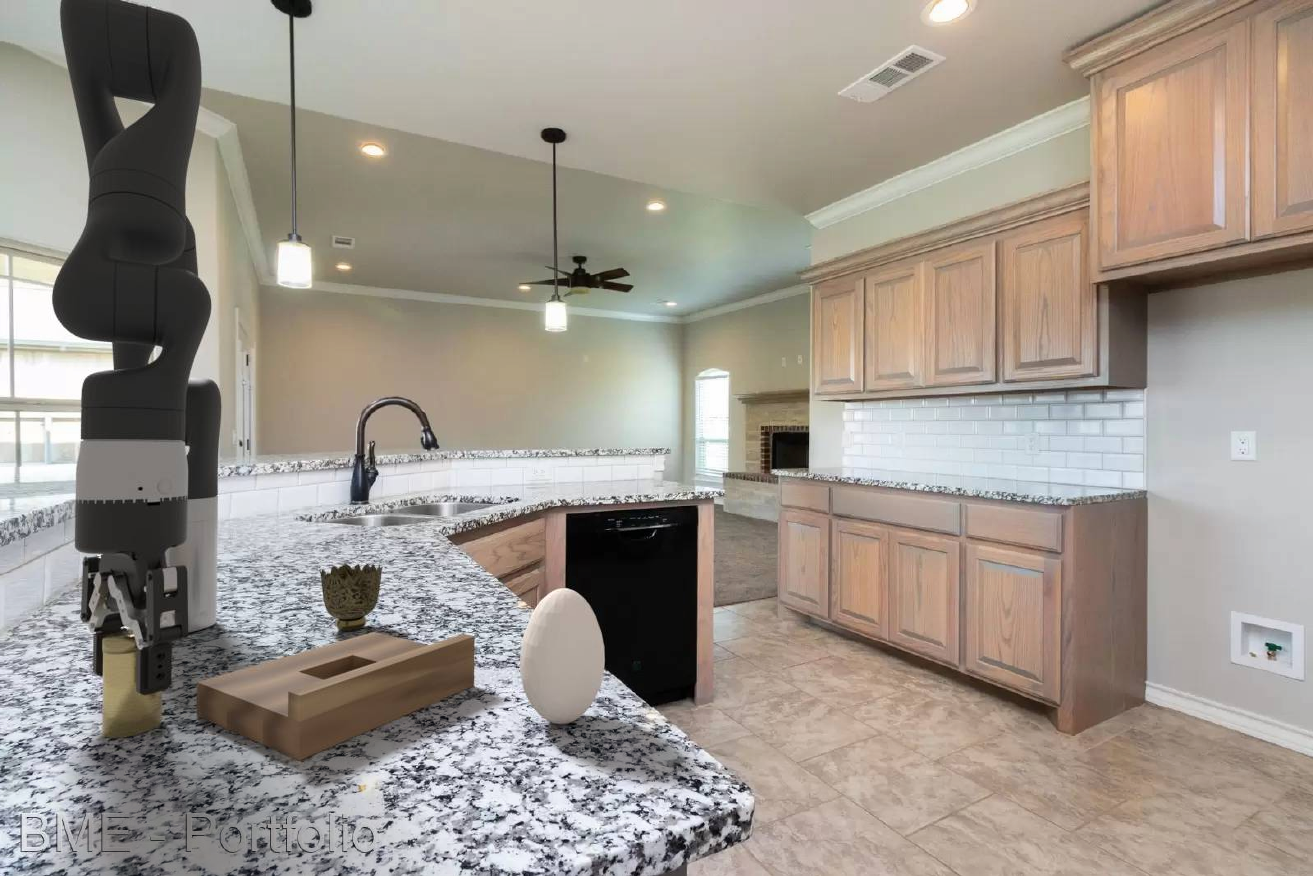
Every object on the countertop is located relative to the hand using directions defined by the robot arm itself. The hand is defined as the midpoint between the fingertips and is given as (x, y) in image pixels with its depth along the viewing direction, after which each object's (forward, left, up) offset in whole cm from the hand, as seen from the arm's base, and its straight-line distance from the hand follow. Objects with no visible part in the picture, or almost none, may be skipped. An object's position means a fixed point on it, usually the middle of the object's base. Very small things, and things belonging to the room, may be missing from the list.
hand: (131, 682), depth 55 cm
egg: (+31, +20, -4) cm, 37 cm away
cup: (-11, +28, -4) cm, 31 cm away
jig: (+10, +13, -4) cm, 17 cm away
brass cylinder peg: (0, 0, -4) cm, 4 cm away
